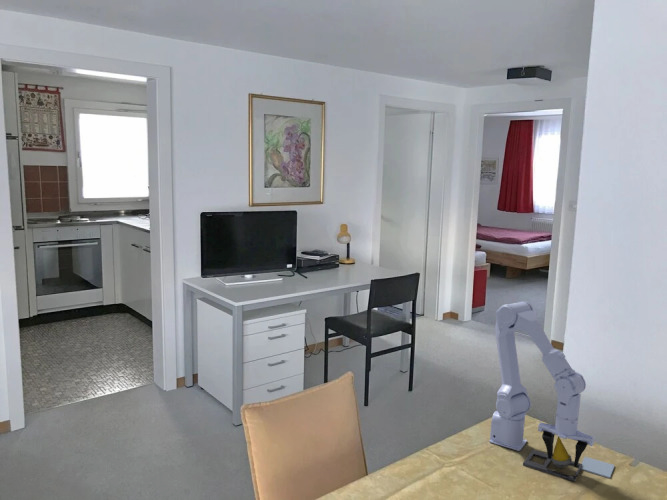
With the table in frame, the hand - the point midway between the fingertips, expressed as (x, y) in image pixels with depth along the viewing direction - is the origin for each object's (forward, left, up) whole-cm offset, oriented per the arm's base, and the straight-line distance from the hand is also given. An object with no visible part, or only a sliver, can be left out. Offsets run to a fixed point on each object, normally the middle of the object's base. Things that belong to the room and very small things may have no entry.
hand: (562, 461), depth 158 cm
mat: (+8, +7, -2) cm, 11 cm away
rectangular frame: (-3, 0, -2) cm, 4 cm away
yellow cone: (0, 0, -3) cm, 3 cm away
